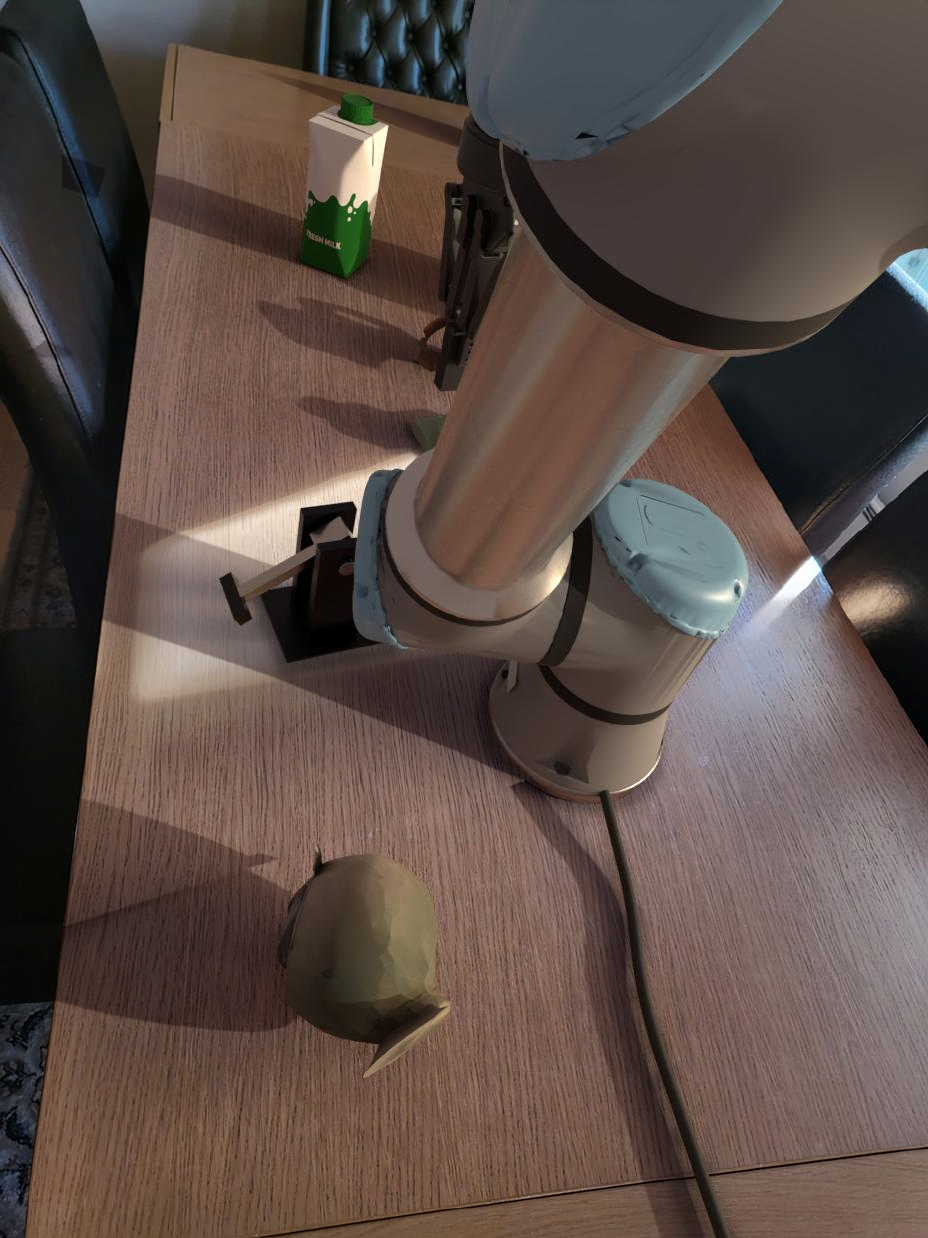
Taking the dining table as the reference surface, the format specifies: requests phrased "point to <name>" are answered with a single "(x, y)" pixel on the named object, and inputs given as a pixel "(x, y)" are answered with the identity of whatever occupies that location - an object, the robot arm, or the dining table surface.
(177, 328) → the dining table surface
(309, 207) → the milk carton
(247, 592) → the lever
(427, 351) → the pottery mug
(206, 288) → the dining table surface
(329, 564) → the bracket
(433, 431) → the button block
